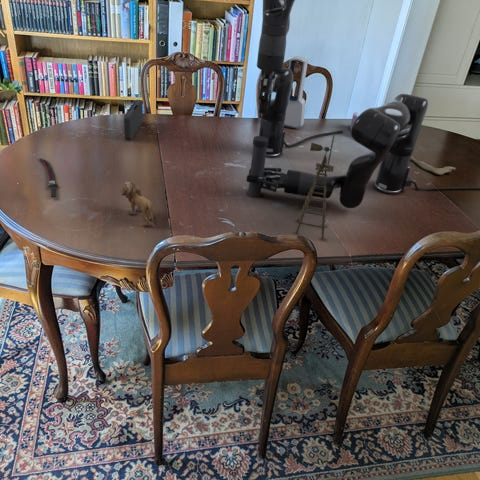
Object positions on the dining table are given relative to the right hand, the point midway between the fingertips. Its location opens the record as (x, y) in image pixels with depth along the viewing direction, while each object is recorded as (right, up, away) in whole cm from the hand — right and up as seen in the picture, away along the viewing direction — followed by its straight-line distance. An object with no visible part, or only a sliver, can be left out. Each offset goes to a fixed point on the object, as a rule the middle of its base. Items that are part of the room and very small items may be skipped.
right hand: (248, 175), depth 152 cm
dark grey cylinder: (+2, -6, +3) cm, 7 cm away
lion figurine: (-32, -14, -16) cm, 38 cm away
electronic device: (+20, +32, +65) cm, 75 cm away
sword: (-65, -1, -1) cm, 65 cm away
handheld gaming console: (-47, +24, +41) cm, 67 cm away
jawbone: (+75, +9, +39) cm, 85 cm away
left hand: (+5, +18, -12) cm, 22 cm away
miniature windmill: (+18, -18, -13) cm, 29 cm away
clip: (+55, +28, +64) cm, 89 cm away
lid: (+4, +10, -7) cm, 13 cm away
